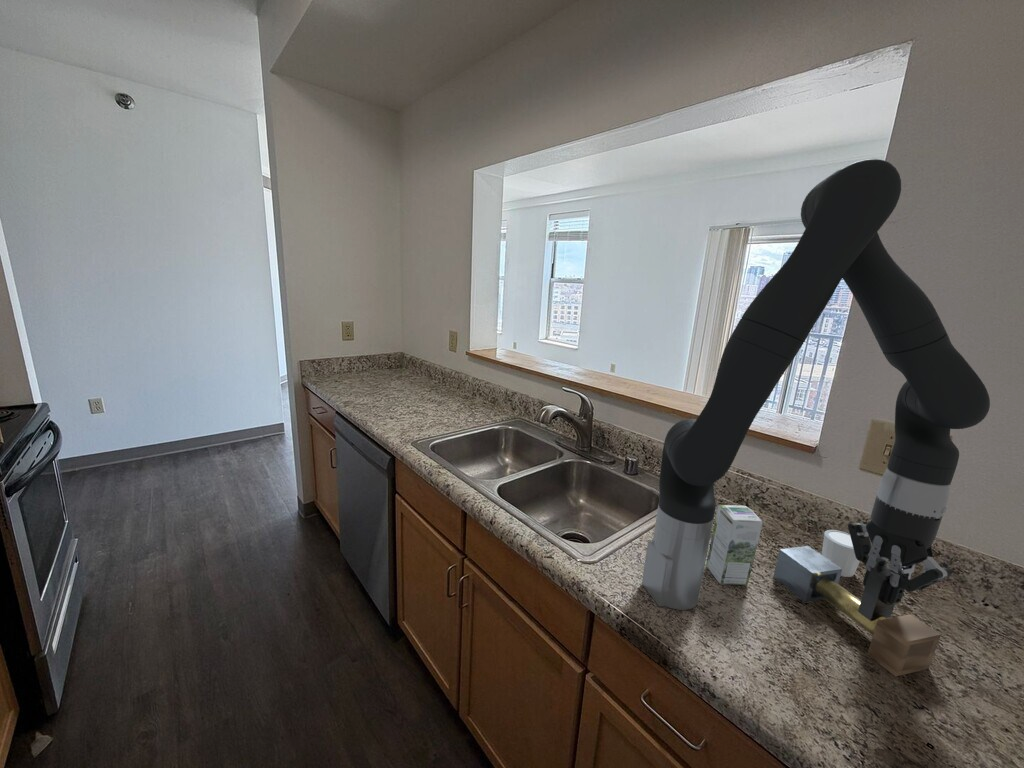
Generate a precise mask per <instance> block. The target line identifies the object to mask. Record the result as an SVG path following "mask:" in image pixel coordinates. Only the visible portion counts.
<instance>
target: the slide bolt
mask: <svg viewBox="0 0 1024 768" xmlns="http://www.w3.org/2000/svg"><path fill="white" fill-rule="evenodd" d="M889 567H890V564H888V565H886V566H881V567H875V568H871V569H870V572H869V576H868V579H867V582H866V586H864V588H865V589H863V593H862V595H861V599H860V598H858V597H857V596H855V595H854V594H852V593H851V592H850V591H849V590H847V589H846V588H844V587H843V586H841V585H840V584H839V583H838V584H837V583H836V582H834V581H833V580H832V579H830V578H829V577H824V578H822V579H821V580H820V581H819V582H818V583H817V585H816V588H815V590H816V592H817V593H818V594H819V595H821V596H822V597H823V598H824V599H825V600H826V601H827V602H828V603H830V604H831V605H832V606H834V608H836V609H837V610H839V611H840V612H841V613H842V614H844V615H845V616H847V618H849V619H850V620H852V621H853V622H855V623H856V624H857V625H858V626H859V627H861V628H862V629H864V630H865V631H866V632H868V633H869V634H870V635H872V636H873V634H874V631H875V628H876V625H877V621H878V620H883V619H888V618H892V615H893V611H894V608H895V605H896V604H891V605H886V604H885V603H883V602H882V598H883V595H884V592H885V588H886V585H887V583H889V579H890V574H891V570H890V569H889Z"/></svg>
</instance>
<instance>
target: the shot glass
mask: <svg viewBox="0 0 1024 768" xmlns="http://www.w3.org/2000/svg"><path fill="white" fill-rule="evenodd" d="M821 555H823V556H824V557H826V558H827V559H829V560H830V561H832V562H833V563H835V564H836V565H838V566H839V567H841V568H842V572H841V576H840V577H845V578H850V577H851V578H852V577H853V576H855V573H856V571H857V568H858V566H859V564H860V562H861V561H859V560H857V559H856V556H855V552H854V548H853V544H852V540H851V537H850V533H849V532H845V531H842V530H836V529H827V530H826V531H824V534H823V542H822V549H821Z"/></svg>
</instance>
